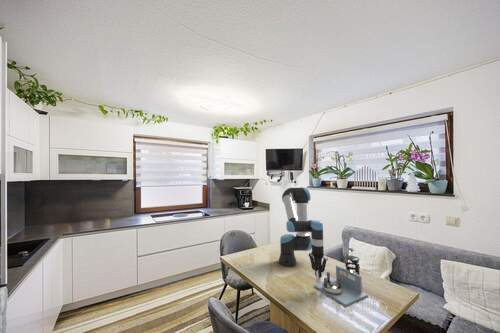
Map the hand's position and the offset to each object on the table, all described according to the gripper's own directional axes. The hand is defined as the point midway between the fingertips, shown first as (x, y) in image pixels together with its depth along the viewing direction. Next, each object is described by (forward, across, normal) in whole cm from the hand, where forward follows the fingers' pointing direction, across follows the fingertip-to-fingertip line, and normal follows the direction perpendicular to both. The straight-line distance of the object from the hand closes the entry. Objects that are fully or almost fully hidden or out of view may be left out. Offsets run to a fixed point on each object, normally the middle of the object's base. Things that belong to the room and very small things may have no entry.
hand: (318, 281), depth 130 cm
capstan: (+4, +7, +5) cm, 9 cm away
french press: (+5, +12, +26) cm, 29 cm away
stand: (+5, +10, +8) cm, 14 cm away
